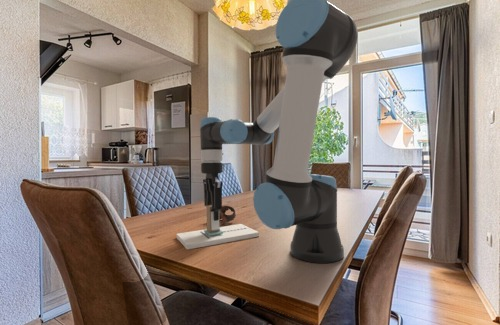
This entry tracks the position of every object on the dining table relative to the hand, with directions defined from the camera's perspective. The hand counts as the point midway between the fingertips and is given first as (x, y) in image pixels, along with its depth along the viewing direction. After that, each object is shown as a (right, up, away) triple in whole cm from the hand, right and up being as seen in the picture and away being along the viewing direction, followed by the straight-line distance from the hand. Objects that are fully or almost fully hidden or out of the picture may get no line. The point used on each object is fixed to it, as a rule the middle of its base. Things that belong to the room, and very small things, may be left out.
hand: (213, 227), depth 94 cm
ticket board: (+2, -4, +1) cm, 4 cm away
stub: (0, -2, 0) cm, 2 cm away
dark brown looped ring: (+1, -3, +23) cm, 23 cm away
